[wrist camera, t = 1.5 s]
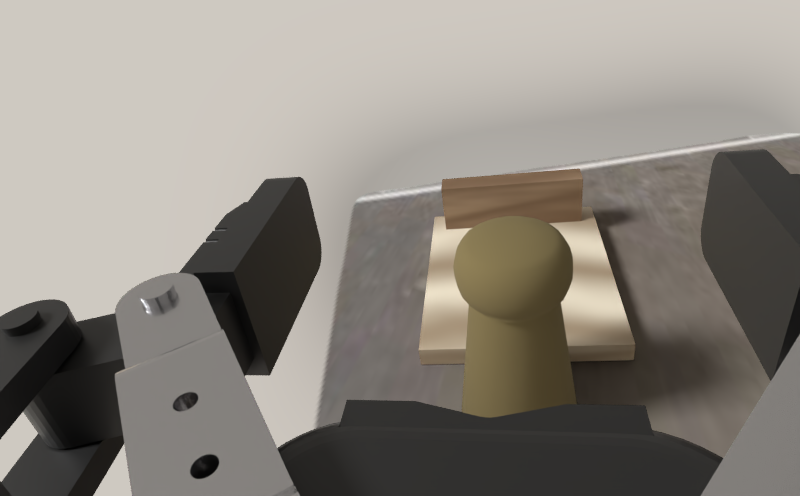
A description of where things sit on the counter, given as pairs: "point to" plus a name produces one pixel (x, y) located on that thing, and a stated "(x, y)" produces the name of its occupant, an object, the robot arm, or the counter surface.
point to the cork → (515, 316)
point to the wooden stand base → (547, 201)
